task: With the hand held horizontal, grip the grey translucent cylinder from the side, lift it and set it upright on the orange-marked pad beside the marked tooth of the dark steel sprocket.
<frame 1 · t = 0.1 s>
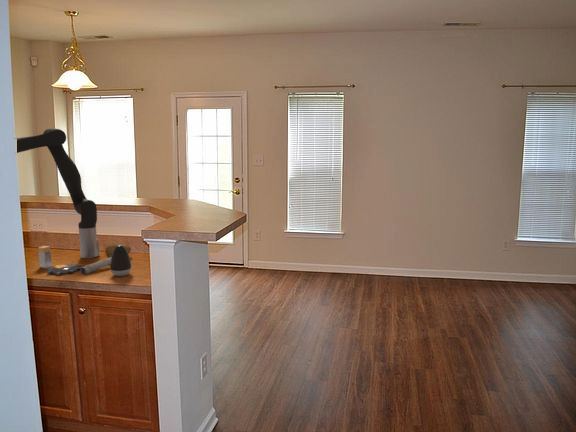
black egg-shaped piece: (121, 275, 242), on the worktop
sprocket: (64, 270, 249), on the worktop
grey translucent cylinder: (45, 266, 256), on the worktop
potato: (118, 259, 272), on the worktop
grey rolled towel: (104, 269, 253), on the worktop
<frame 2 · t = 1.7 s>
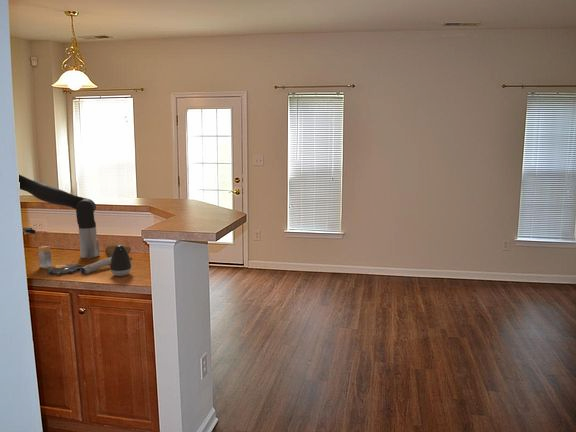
hand: (28, 233, 256), 18 cm above the worktop, tool horizontal, fingers open, 8 cm apart
nothing on the worktop moved.
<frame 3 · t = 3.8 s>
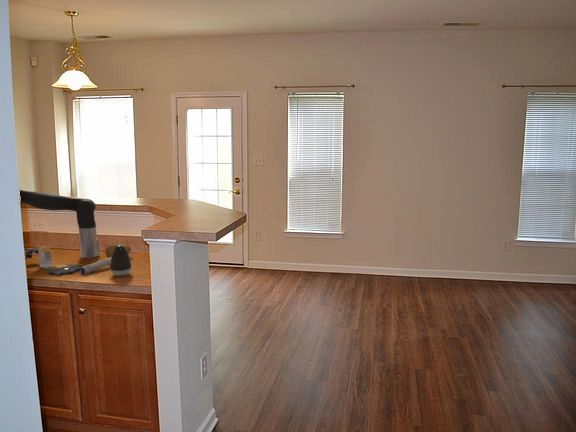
hand: (38, 254, 257), 6 cm above the worktop, tool horizontal, fingers open, 8 cm apart
nothing on the worktop moved.
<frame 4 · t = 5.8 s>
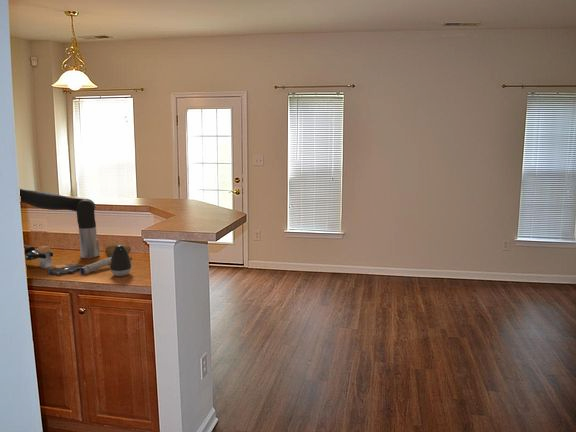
hand: (48, 255, 254), 7 cm above the worktop, tool horizontal, fingers closed on grey translucent cylinder, 4 cm apart
grey translucent cylinder: (45, 266, 256), on the worktop, touching gripper
everything else where it was.
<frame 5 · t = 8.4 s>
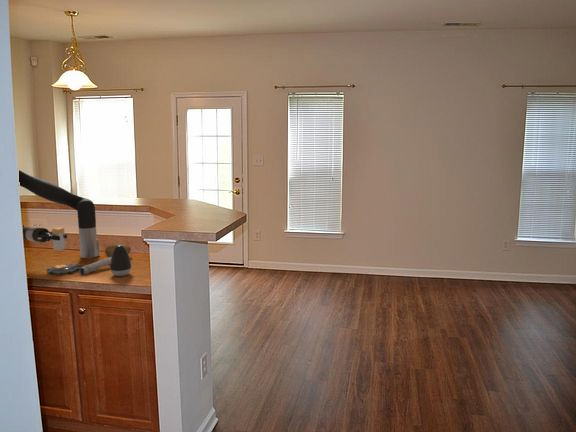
hand: (62, 237, 247), 17 cm above the worktop, tool horizontal, fingers closed on grey translucent cylinder, 4 cm apart
grey translucent cylinder: (59, 249, 249), point 11 cm above the worktop, touching gripper
everything else where it was.
when the fingers open (9 cm above the worktop, at t = 11.0 s): grey translucent cylinder stays where it is, resting on sprocket.
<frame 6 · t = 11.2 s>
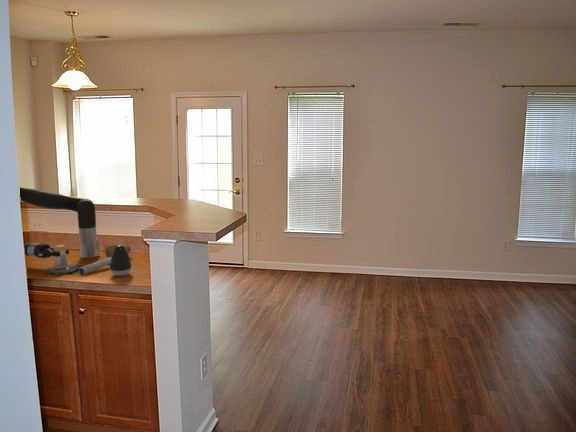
hand: (64, 253, 249), 9 cm above the worktop, tool horizontal, fingers open, 5 cm apart
grey translucent cylinder: (61, 266, 251), point 2 cm above the worktop, touching sprocket
everything else where it was.
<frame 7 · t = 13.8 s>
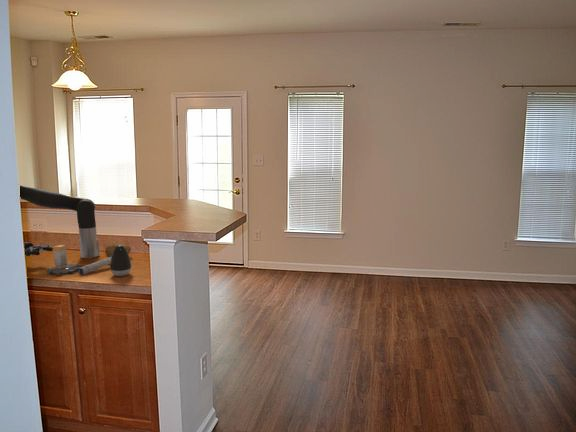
hand: (45, 251, 253), 9 cm above the worktop, tool horizontal, fingers open, 8 cm apart
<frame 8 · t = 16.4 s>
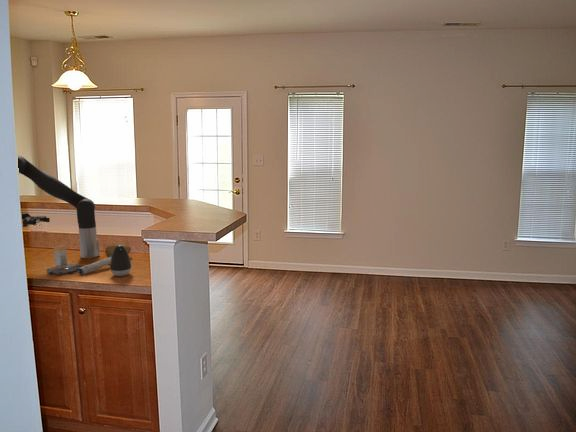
hand: (42, 221, 250), 25 cm above the worktop, tool horizontal, fingers open, 8 cm apart
at the end: grey translucent cylinder 0.0 cm from the target spot on the sprocket, point 1.7 cm above the sprocket's base; grey translucent cylinder tilted 0°; the gripper is holding nothing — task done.
